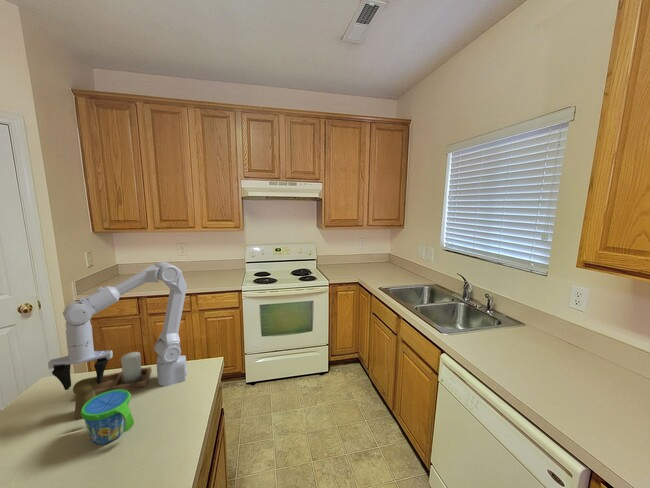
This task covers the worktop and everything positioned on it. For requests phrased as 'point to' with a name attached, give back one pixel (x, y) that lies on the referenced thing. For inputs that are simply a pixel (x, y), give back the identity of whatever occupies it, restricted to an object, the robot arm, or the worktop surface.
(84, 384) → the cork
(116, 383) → the caddy
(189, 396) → the worktop surface
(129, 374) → the salt shaker
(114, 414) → the snack cup
